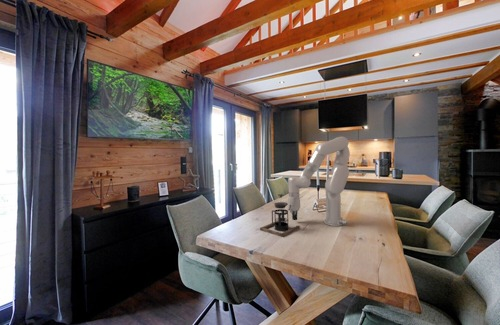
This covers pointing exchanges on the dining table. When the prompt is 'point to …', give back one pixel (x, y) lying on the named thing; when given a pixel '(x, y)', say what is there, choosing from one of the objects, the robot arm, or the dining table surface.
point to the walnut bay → (277, 232)
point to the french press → (280, 216)
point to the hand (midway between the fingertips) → (294, 219)
